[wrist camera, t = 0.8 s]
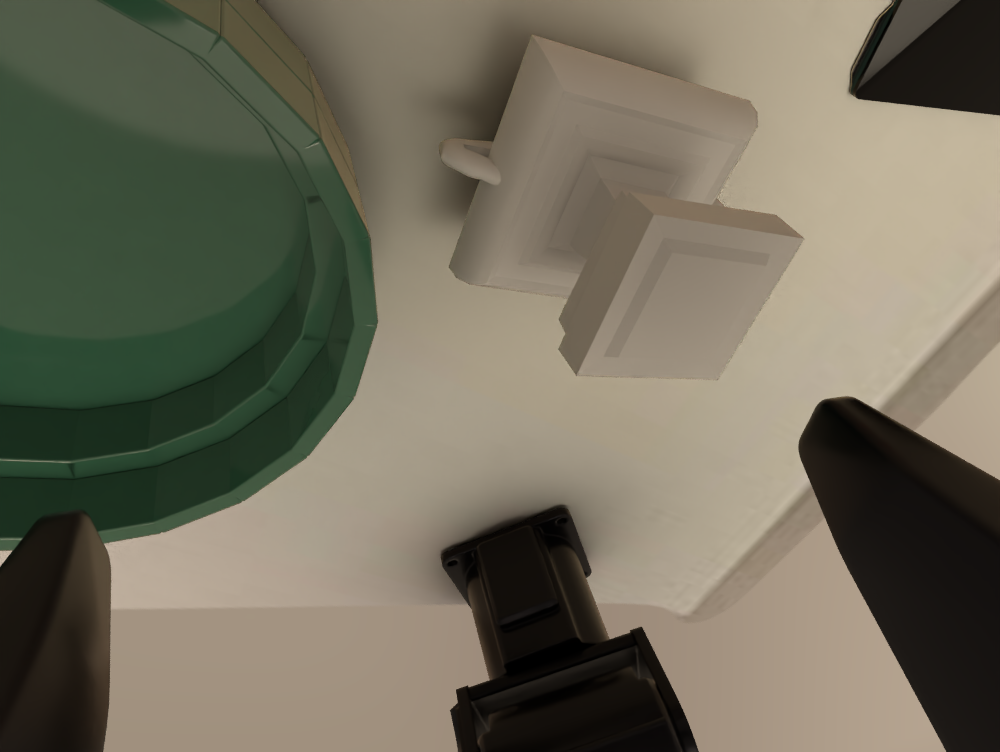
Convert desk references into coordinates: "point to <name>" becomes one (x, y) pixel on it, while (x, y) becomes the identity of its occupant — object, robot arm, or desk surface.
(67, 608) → the robot arm
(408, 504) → the desk surface
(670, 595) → the desk surface
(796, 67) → the desk surface
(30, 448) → the green bowl
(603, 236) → the stamp
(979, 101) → the build plate
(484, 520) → the desk surface
